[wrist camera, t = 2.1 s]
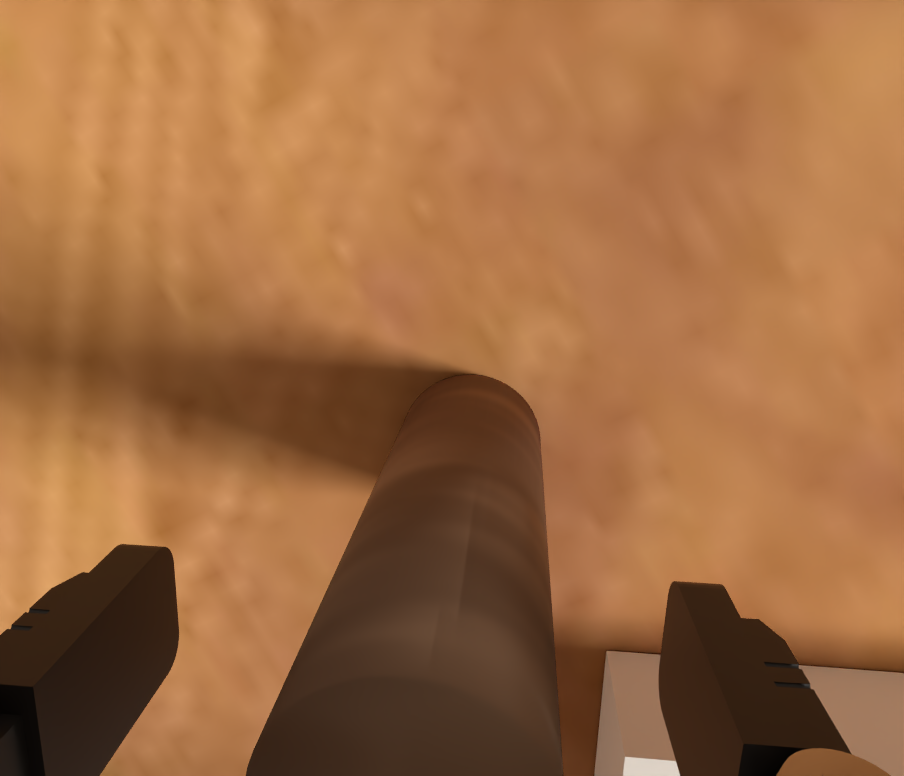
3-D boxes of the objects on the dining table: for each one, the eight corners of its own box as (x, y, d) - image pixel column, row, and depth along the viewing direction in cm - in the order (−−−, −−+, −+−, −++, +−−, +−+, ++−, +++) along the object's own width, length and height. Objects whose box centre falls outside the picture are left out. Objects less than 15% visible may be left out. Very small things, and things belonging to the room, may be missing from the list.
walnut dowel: (544, 378, 19) (578, 690, 8) (536, 508, 20) (555, 953, 9) (403, 371, 20) (236, 662, 8) (402, 499, 21) (251, 921, 9)
